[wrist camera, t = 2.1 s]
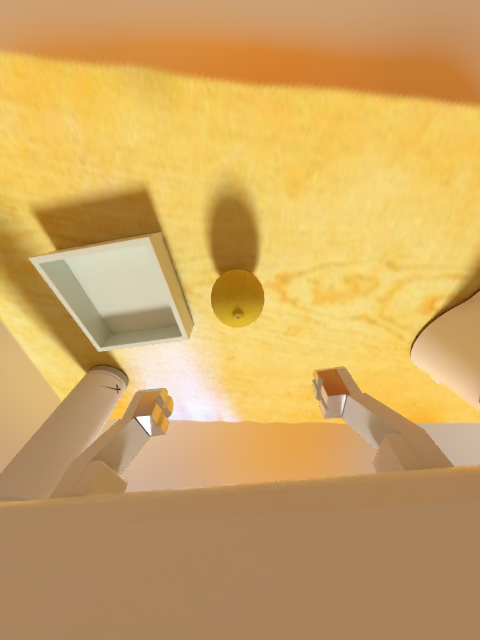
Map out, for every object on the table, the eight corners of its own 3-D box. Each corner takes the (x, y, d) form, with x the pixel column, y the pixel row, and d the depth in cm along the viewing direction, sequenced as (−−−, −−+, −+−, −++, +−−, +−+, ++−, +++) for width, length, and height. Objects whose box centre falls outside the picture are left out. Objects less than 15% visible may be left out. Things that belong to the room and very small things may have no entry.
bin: (161, 231, 20) (148, 236, 17) (193, 324, 26) (188, 339, 23) (56, 250, 21) (28, 258, 18) (113, 335, 27) (98, 351, 24)
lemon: (205, 276, 23) (192, 309, 16) (245, 251, 21) (249, 274, 14) (230, 310, 25) (229, 350, 18) (267, 289, 24) (280, 325, 17)
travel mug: (131, 368, 31) (3, 573, 14) (127, 392, 34) (21, 581, 17) (88, 358, 29) (-108, 571, 13) (89, 384, 33) (-67, 580, 16)
